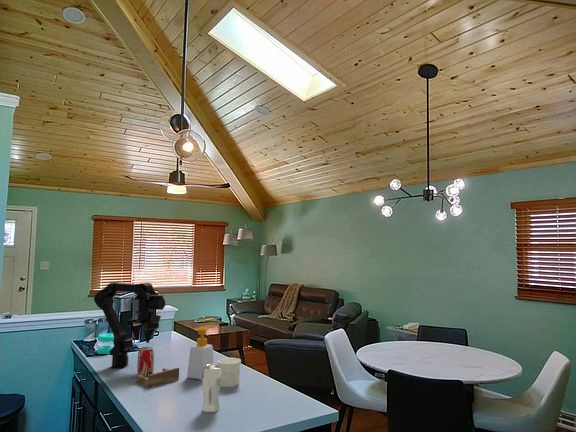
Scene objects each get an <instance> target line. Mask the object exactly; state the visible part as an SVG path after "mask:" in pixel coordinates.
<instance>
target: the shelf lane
mask: <svg viewBox="0 0 576 432" xmlns="http://www.w3.org/2000/svg"><path fill="white" fill-rule="evenodd" d="M153 373H154V372H153ZM179 379H180V368H179V367H175V368H171V369H169V368H166V367H163V368H162V370H161V371H158V372H155V373H154V374H150V375H148V378H146V377H144V376H141V375H136V378H135V383H137V384H140V386H141V385H142V386H144V387H146V388H150V389H151V388H154V387H157V386H161V385H165V384H168V383H169V384H170V383H172V382H176V381H179Z"/></svg>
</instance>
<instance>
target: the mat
mask: <svg viewBox="0 0 576 432" xmlns="http://www.w3.org/2000/svg"><path fill="white" fill-rule="evenodd" d="M153 374H154V372H153ZM136 375H138V374H137V373H135V374H131V375H130V377H131V378H134V379H136ZM146 378H148V376H147V377H146Z"/></svg>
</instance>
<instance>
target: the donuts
mask: <svg viewBox="0 0 576 432" xmlns="http://www.w3.org/2000/svg"><path fill="white" fill-rule="evenodd" d="M96 339H97V341H98V342H100V343H111V342H112V343H113V340H114V335H113V333H101V334H98V336H97V338H96ZM113 347H114V345H112V344H111V345H110V344H109V345H107V344H106V345H101V346H99V347H98V348H97V349H96V353H97V354H98V355H100V354H107V355H110V350H111V349H112V348H113Z"/></svg>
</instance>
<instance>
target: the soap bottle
mask: <svg viewBox="0 0 576 432" xmlns="http://www.w3.org/2000/svg"><path fill="white" fill-rule="evenodd" d="M214 328H215V326H208V327H206V326H200V327H198V328H196V331H197V334H198V335H200V337H199V338H198V337H197V339H196V344H194V345H192V346H191V347H190V351H189V358H188V365H187V371H186V376H187V378H189V379H194V380H200V381H202V372H203V366H205V365H210V364H215V359H214V346H213V345H212V344H208V338H206V337H205V334H207V331H209V329H214Z"/></svg>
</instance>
